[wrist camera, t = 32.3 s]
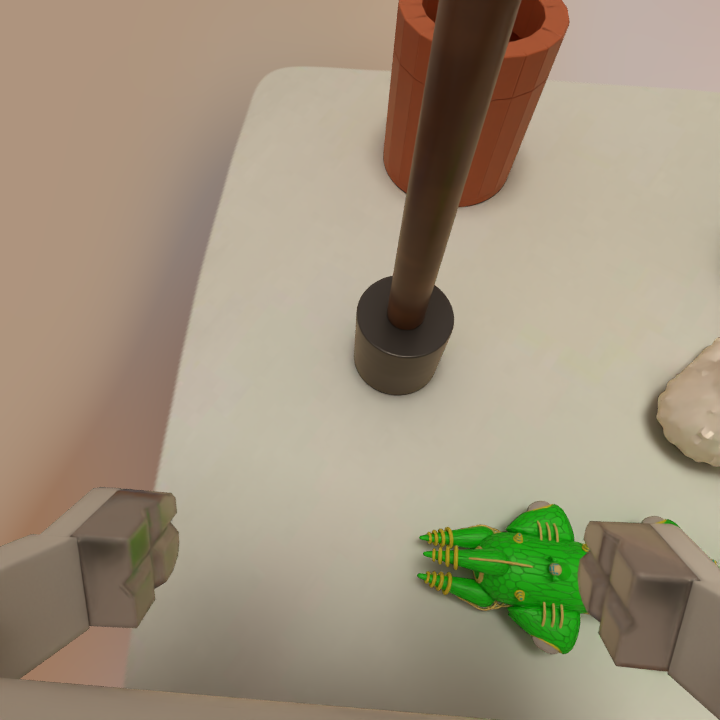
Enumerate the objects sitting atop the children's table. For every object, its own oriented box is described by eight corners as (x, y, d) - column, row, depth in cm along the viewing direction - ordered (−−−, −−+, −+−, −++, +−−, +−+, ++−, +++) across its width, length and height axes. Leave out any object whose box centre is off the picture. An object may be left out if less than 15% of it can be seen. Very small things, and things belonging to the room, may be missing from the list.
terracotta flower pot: (363, 180, 36) (371, 25, 26) (410, 105, 40) (433, -53, 30) (486, 224, 35) (545, 77, 25) (522, 141, 39) (585, -13, 29)
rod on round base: (340, 374, 29) (342, -283, 7) (373, 310, 31) (453, -343, 9) (419, 408, 28) (687, -217, 6) (448, 339, 30) (720, -299, 9)
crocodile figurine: (785, 684, 22) (878, 702, 18) (408, 631, 23) (423, 639, 19) (750, 537, 25) (824, 526, 21) (418, 492, 26) (431, 474, 22)
